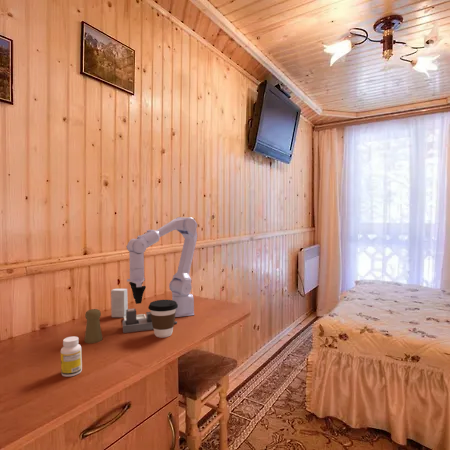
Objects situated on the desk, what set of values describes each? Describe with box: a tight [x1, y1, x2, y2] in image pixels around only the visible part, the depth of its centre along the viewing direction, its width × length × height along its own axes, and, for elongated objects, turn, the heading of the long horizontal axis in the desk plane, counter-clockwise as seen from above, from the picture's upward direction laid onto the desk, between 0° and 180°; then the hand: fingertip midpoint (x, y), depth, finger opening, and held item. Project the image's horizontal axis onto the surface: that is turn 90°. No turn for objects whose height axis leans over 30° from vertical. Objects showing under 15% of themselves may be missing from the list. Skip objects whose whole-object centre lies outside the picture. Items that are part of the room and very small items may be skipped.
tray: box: [123, 313, 146, 321], centre depth 139 cm, size 9×7×1 cm
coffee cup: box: [148, 299, 178, 339], centre depth 122 cm, size 11×11×12 cm
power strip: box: [122, 311, 178, 334], centre depth 131 cm, size 22×7×6 cm, turn 110°
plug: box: [126, 308, 137, 325], centre depth 128 cm, size 4×4×7 cm
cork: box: [83, 308, 103, 344], centre depth 117 cm, size 6×6×11 cm
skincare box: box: [110, 288, 129, 318], centre depth 145 cm, size 6×4×12 cm
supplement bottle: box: [60, 336, 83, 378], centre depth 93 cm, size 5×5×10 cm
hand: (137, 301), depth 133 cm, fingers open, 7 cm apart
